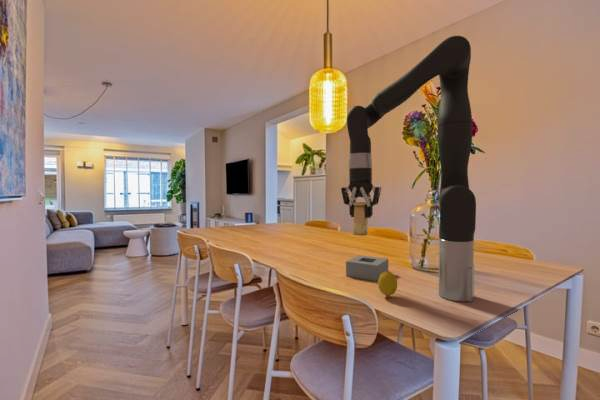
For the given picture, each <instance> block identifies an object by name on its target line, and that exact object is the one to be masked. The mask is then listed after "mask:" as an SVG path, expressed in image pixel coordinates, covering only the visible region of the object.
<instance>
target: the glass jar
mask: <svg viewBox="0 0 600 400" xmlns="http://www.w3.org/2000/svg"><path fill="white" fill-rule="evenodd" d="M353 205H354V212H353V217H352V220H353V222H352V223H353V226H352V235H354V236H360V237H361V236H362V237H363V236H368V233H369V232H368V231H369V230H368V229H369V226H368V224H369V223H368V221H369V218H367V207H368V206H367V204H366V201H356V202H353Z"/></svg>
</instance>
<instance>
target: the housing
mask: <svg viewBox="0 0 600 400" xmlns="http://www.w3.org/2000/svg"><path fill="white" fill-rule="evenodd" d="M386 271H389V258H386V257H378V256H369V255H368V256H367V255H360V254H359V255H357V256H354V257H352V258H350V259H348V260H346V261H345V276H346V277H348V278H357V279H361V280H369V281H374V282H378V280H379V277H380V275H381V274H382V273H383V272H386Z"/></svg>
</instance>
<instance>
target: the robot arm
mask: <svg viewBox="0 0 600 400" xmlns="http://www.w3.org/2000/svg"><path fill="white" fill-rule="evenodd" d="M471 56H472V49H471V43H470V41H469V40H468V39H467V38H466V37H464V36H462V35H453V36H449V37H446V38H445V39H444V40H443V41H442V42H441V43H439V44H438V45H437V46H436V47H435V48H434V49H433V50H432V51H431V52H429V54H427V55H426V56H425V57H424V58H423V59H421V60H420V62H418V63H417V64H416V65H415V66H413V67H412V68H411V69H410V70H409V71H407V72H406V73H404V74H403V75H402V76H401V77H399V78H398V79H396V81H394V82H391V84H389V85H388V86H386V87H385V88H384V89H382V90H381V91H379V92H378V93H377V94H375V95H374V96H373V97H372V100H371V102H370V103H368V104H367V105H366V106H365V107H364V106H363V105H354V106H352V107H351V108H350V109H349V110H348V112H347V117H346V125H347V126H346V127H347V133H348V137H349V160H348V170H349V171H348V172H349V173H348V176H349V179H348V181H349V184H348V186H345V187H344V186H343V187H341V188H340V190H341V195H342V199H343V204H344V205H347V206H348V207H349V208H348V209H349V216H350V217H351V218H353V212H354V205H353V202H357V200H358V198H363V199H364V202H366V204H367V206H368V207H367V218H368V219H370V218H371V217H373V213H374V212H373V207H374V206H375V205H378V204H379V199H380V197H381V191H382V188H381V187H380V186H374V185H373V163H372V162H373V158H372V142H371V138H370V136H369V131H368V130H369V129H370V128H371V127H373V126H375V124H376V123H378V121H380V120H381V119H382V118H383V117H384V116H386V114H388V113H390V112H392V111H393V110H394V109H396V108H398V107H399V106H401V105H402V104H403V103H405V102H406V101H407V100H409V99H410V98H411V97H412V96H413V95H414V94H415V93H416V92H418V90H419V89H420V88H422V87H423V86H424V85H425V84H427V83H429V81H431V80H433V79H434V78H436V77H439V83H440V84H439V85H440V100H439V106H438V114H437V123H436V124H437V125H436V127H437V145H438V148H437V149H438V155H439V157H438V158H439V163H440V186H439V195H438V203H439V229H438V230H439V231H438V295H439V296H440V297H441V298H443V299H445V300H449V301H455V302H470V303H472V302H473V300H474V297H475V265H474V258H475V257H474V250H475V249H474V246H475V243H474V242H475V237H474V236H475V233H476V232H475V231H476V222H477V221H476V219H477V201H476V200H477V199H476V196H475V193H474V192H473V191H472V190H471V189H470V185H469V173H468V168H469V161H470V156H471V150H472V145H473V144H472V143H473V116H472V108H471V102H470V98H469V92H468V91H469V89H468V87H469V86H468V85H469V84H468V83H469V73H470V66H471V65H470V64H471V59H472V57H471ZM349 192H351V194H350V195H349ZM371 192H372V193H373V197H372V196H371V194H370V193H371Z"/></svg>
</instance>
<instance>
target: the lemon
mask: <svg viewBox="0 0 600 400" xmlns="http://www.w3.org/2000/svg"><path fill="white" fill-rule="evenodd" d="M377 285H378V289H379V292H380V293H382V294H383V295H385V296H386V297H387V298H389V297H391V296H392V295H394V294H395V293H396V291H397V289H398V280H397V277H396V275H395V274H394V273H393V272H390V271H389V270H388V271H386V272H383V273H382V274H381V275H380V277H379V280H378V281H377Z"/></svg>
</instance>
